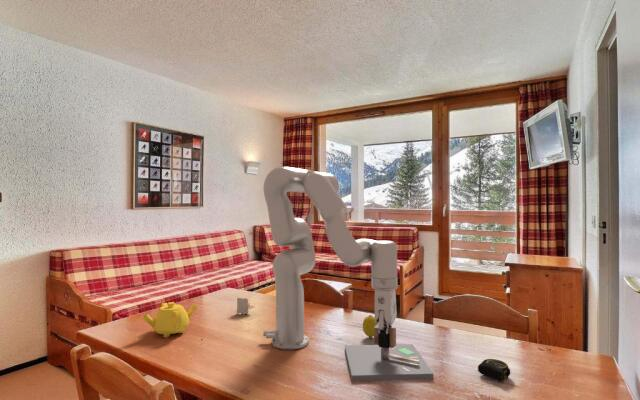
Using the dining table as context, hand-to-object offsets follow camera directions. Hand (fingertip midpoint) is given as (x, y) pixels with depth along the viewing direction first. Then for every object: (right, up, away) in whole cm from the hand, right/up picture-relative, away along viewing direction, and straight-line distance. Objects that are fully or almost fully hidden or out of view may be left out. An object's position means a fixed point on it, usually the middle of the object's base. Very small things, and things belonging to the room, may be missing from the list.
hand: (385, 344), depth 106 cm
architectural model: (-52, -7, +49) cm, 72 cm away
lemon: (-2, -6, +20) cm, 21 cm away
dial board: (0, -6, 0) cm, 6 cm away
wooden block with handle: (+3, -4, -2) cm, 5 cm away
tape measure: (+28, -6, -9) cm, 30 cm away
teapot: (-75, -7, +27) cm, 80 cm away
